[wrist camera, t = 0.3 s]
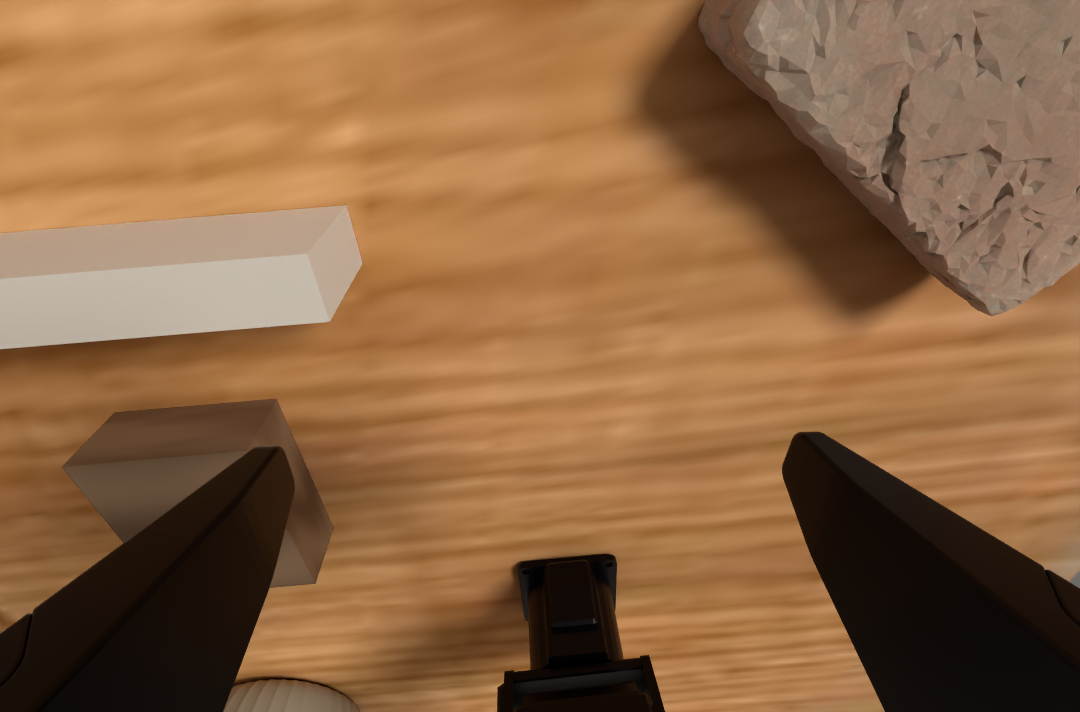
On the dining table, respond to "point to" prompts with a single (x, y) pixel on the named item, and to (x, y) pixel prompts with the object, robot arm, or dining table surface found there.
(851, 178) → the brick
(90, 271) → the plank
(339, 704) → the canister
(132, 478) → the walnut block
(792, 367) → the dining table surface
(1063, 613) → the robot arm
